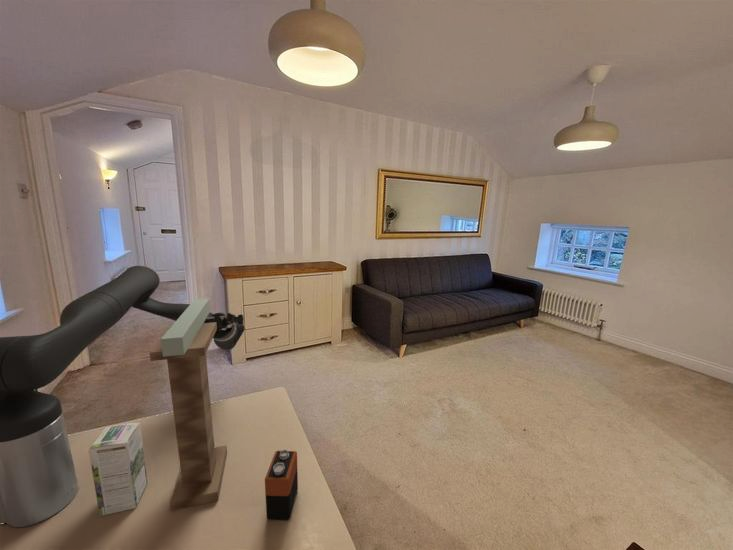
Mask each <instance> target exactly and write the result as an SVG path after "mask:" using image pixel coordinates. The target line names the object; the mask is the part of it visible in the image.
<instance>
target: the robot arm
mask: <svg viewBox="0 0 733 550" xmlns="http://www.w3.org/2000/svg"><path fill="white" fill-rule="evenodd" d="M160 282H161V281H160V277H159V274H158V273H157V272H156V271H155V270H154V269H152V268H150V267H148V266H145V265H133V266H131V267H127V268H126V270H124V271H123V272H122V273H120V274H119V275H117V277H116V278H114V279H113V280H110V281H108V282H106V283H105V284H103V285H101V286H98V287H97V288H95V289H93V290H91V291H89V292H87V293H85V294H84V295H81V296H79V297H77V298H76V299H74V300H72V301H70V302H69V303H68V304H67V305H66V306H65V307H64V308H63V310H62V312H60V316H59V317H60V318H59V323H60V325H59V326H57V327H55V328H54V329H52V330H49V331H47V332H44V333H41V334H40V333H39V334H34V335H21V336H20V335H18V336H1V337H0V523H8V524H7V525H9V526H10V525H11V526H10V527H12V528H24V527H29V526H33V525H35V524H38V523H41V522H43V521H46V520H47V519H48V518H50V517H52V516H54V515H56V514H57V513H58V512H60V511H61V510H63V509H64V508H65V507H66V506H68V505H69V504H70V503H71V502H72V500H74V498H75V497H76V495H77V494H78V490H79V485H78V478H77V472H76V469H75V464H74V459H73V455H72V450H71V449H72V448H71V444H70V441H69V440H70V439H69V435H68V430H67V426H66V422H65V418H64V417H65V416H64V412H63V409H62V404H61V400H60V399H59V397H57V396H55V395H53V394H50V393H45V392H43V391H42V392H40V391H37V390H39V389H41V388H43V387H44V388H45V387H46V386H48V385H49V384H51V383H53V381H55V380H56V379H57V378H58V377H59V376H60V375H61V374H63V372H64V371H65V370H66V369H68V367H69V366H70V365H71V364H72V363H73V362H74V361H75V360H76V359H77V357H78V356H79V355H81V353H82V352H84V350H85V349H87V347H88V346H89V345H91V344H92V343H93V342H94V341H96V339H98V338H99V337H100V336H101V335H102V334H104V333H105V332H107V331H108V330H110V329H111V328H112V327H113V326H114V325H116V324H117V323H118V322H119V321H120V320H121V319H122V318H123V317H124V316H125V315H126V314H127V313H128V312H129V310H130V309H132V308H134V309H137V310H140V311H142V312H147V313H150V314H152V315H155V316H159V317H162V318H165V319H168V320H171V321H175V322H176V321H177V319H178V318H179V317H180V316H181V315H182V314H183V312H184V311H185V310H186V309H187V308H188V307H189V305H190V304H191V303H190V304H189V303H173V302H162V301H159V300H156V299H154V298H152V297H151V296H152V295H153V294H154V292H155V291H156V290H157V289H158V287H159V285H160ZM244 321H245V319H244V315H243V314H238V315H237V316H236V314H232V313H231V312H227V313H225V312H216V313H213V312H211V311H210V313H209V314H208V316H207V318H206V319H205V321H204V323H214V322H216V323H217V330H216V332H215V334H214V337H213V339H212V340H213V342H214V344H215V345H216V346H217V348H219V349H221V350H224V351H231V350H233V349H234V348H235V346H236V345H237V343H238V342H239V340H240V339H241V337H242V335H244V334H243V333H244V332H245V323H244Z"/></svg>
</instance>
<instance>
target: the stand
mask: <svg viewBox="0 0 733 550" xmlns="http://www.w3.org/2000/svg"><path fill="white" fill-rule="evenodd" d="M216 330H217V323H216V322H214V323H203V324H202V326H201V328H200V329H199V331H198V333H197V334H196V336H195V338H194V339H193V341H192V342H191V344H190V346H189V347H188V349H187V351H186V352H185V354H184V355H174V356H164V357H163V353H162V345H161V339H160V340H159V341H158V342H157V343H156V344H155V346H153V348H152V349H151V351H149V358H150V360H149V361H150V362H154V361H155V362H156V361H165V360H166V362H167V364H166V365H167V369H168V370H167V371H168V372H167V373H168V378H169V385H170V387H169V388H170V394H171V395H170V396H171V403H172V410H173V419H174V426H175V435H176V443H177V444H176V445H177V452H178V459H179V467H180V468H179V469H180V472H179V475H178V477H177V481H176V484H175V486H174V488H173V489H174V490H173V493H172V496H171V498H170V502H169V506H170V507H169V508H170V511H171V512H173V511H174V512H175V511H177V510H182V509H186V508H191V507H195V506H199V505H203V504H208V503H212V502H217V501H219V499H220V493H221V487H222V482H223V476H224V472H225V467H226V461H227V456H228V446H227V445H220V446H216V447H215V439H214V437H215V435H214V429H213V428H214V427H213V416H212V407H211V404H212V403H211V395H210V394H211V393H210V384H209V383H210V382H209V374H208V363H207V351H208V350H209V347H210V345H211V344H212V341H213V340H214V339H213V337H214V334H215V332H216Z"/></svg>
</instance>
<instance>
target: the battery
mask: <svg viewBox="0 0 733 550" xmlns="http://www.w3.org/2000/svg"><path fill="white" fill-rule="evenodd" d="M298 479H299V477H298V452H297V450H296V451H295V450H288V449H282V450H276V451H275V452H274V454H273V457H272V459H271V462H270V464H269V467H268V469H267V472H266V474H265V477H264V489H265V490H264V491H265V492H264V493H265V507H266V508H265V509H266V511H265V512H266V519H267V520H269V521H270V520H271V521H289V520H290V519H291V517H292V513H293V508H294V505H295V502H296V498H297V493H298V489H299V484H298V483H299V482H298Z"/></svg>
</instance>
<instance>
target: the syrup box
mask: <svg viewBox="0 0 733 550" xmlns="http://www.w3.org/2000/svg"><path fill="white" fill-rule="evenodd" d="M144 451H145V450H144V444H143V436H142V428H141V423H140V422H130V423H122V424H121V423H120V424H114V425H111V426H106V427H105V428H104V429H103V431H102V432H101V433H100V434H99V436H98V437H97V439H96V440H95V441H94V443H93V444H92V445H91V446H90V448H89V449H88V454H89V462H90V465H91V473H92V478H93V483H94V489H95V490H94V491H95V495H96V501H97V507H98V512H99V513H98V514H99V517H103V516H107V515H113V514H116V513H121V512H125V511H129V510H132V509H136V508H137V507H138V505H139V502H140V500H141V498H142V495H143V493H144V492H145V489H146V487H147V484H148V475H147V468H146V461H145V452H144Z"/></svg>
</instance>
